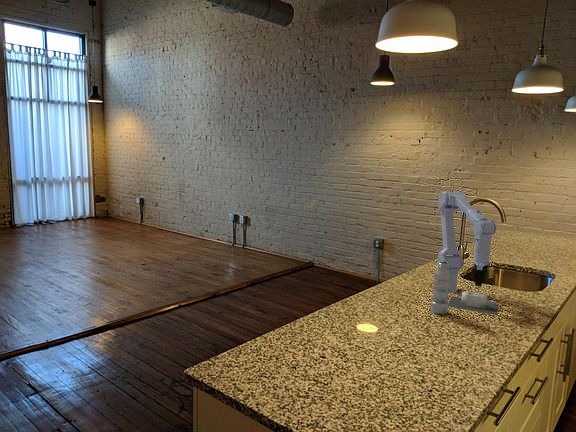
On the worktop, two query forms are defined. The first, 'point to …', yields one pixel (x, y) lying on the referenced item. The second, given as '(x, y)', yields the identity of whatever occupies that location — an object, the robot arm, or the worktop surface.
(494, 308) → the rubber mat
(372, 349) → the worktop surface
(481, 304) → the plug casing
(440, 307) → the plastic bottle
